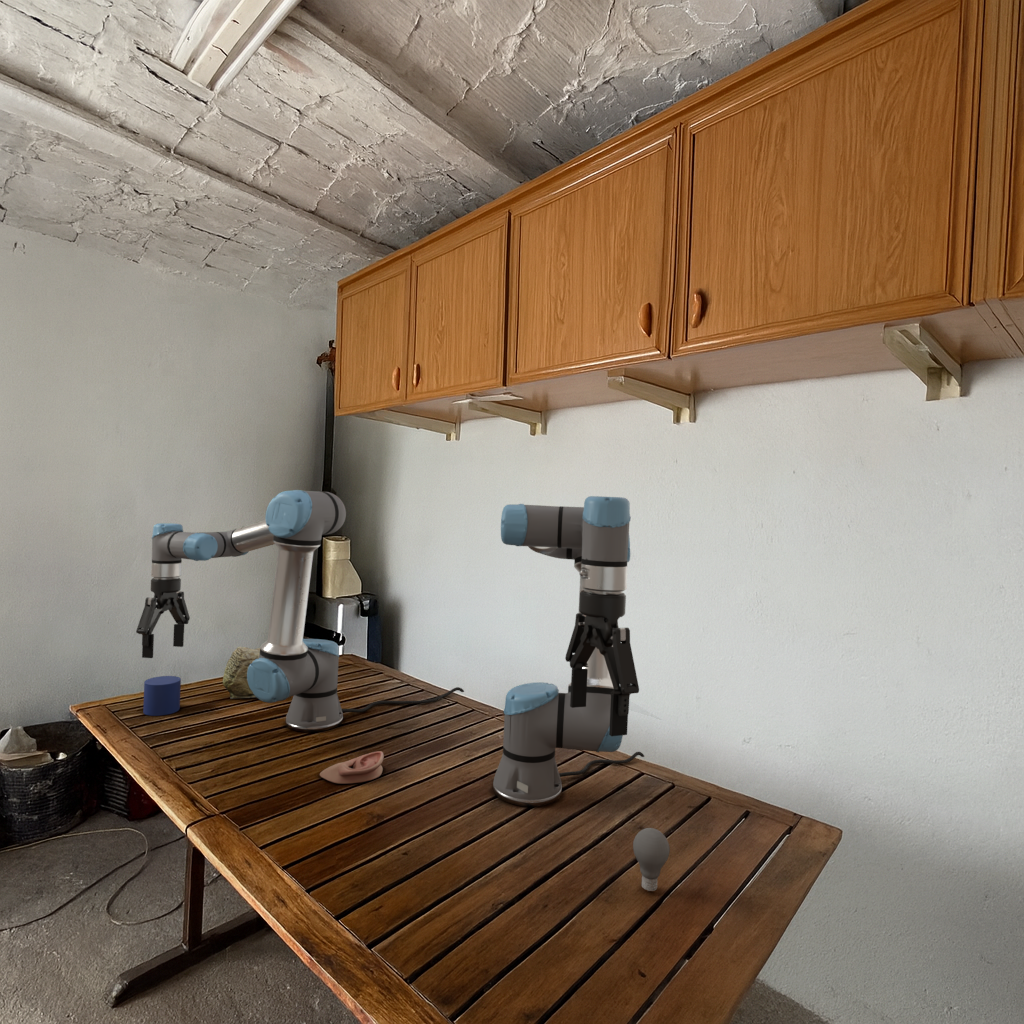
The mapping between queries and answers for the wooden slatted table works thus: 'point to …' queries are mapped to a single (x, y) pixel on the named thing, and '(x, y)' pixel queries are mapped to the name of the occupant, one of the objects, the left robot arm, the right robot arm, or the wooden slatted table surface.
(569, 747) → the right robot arm
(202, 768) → the wooden slatted table surface
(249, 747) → the wooden slatted table surface
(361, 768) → the anatomical model
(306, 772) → the wooden slatted table surface
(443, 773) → the wooden slatted table surface
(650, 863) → the light bulb
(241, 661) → the fossil
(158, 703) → the cylinder
